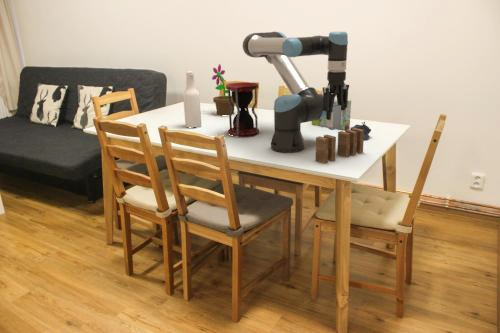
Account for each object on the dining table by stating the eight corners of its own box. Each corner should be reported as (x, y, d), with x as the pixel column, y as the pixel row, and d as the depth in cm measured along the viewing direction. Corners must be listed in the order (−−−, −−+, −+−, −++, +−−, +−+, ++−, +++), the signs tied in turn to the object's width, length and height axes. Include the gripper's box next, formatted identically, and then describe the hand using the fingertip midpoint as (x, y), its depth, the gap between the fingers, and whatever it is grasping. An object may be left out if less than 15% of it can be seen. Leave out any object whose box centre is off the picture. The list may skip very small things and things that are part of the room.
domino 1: (324, 163, 177) (324, 139, 174) (315, 160, 181) (316, 137, 178) (327, 162, 178) (328, 138, 175) (319, 159, 182) (319, 136, 179)
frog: (375, 138, 211) (376, 122, 209) (358, 142, 205) (359, 126, 202) (360, 134, 219) (361, 118, 216) (343, 138, 213) (343, 122, 210)
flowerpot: (223, 111, 282) (221, 63, 272) (241, 113, 274) (240, 63, 264) (209, 115, 271) (206, 65, 261) (227, 117, 263) (224, 66, 253)
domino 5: (352, 155, 186) (354, 132, 183) (344, 152, 190) (345, 130, 187) (356, 154, 187) (357, 131, 184) (347, 151, 191) (348, 129, 188)
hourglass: (222, 136, 223) (220, 86, 214) (235, 128, 237) (233, 81, 229) (252, 138, 217) (251, 87, 209) (263, 130, 231) (262, 82, 223)
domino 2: (340, 128, 190) (341, 105, 187) (331, 130, 188) (332, 106, 184) (336, 127, 192) (337, 104, 189) (328, 129, 189) (329, 106, 186)
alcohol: (188, 124, 249) (184, 70, 239) (203, 124, 247) (200, 70, 237) (183, 128, 241) (178, 72, 231) (198, 128, 239) (194, 72, 229)
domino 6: (359, 153, 189) (360, 130, 185) (350, 150, 193) (351, 128, 189) (362, 152, 190) (364, 130, 186) (354, 150, 194) (355, 127, 190)
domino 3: (331, 161, 180) (332, 137, 176) (322, 158, 183) (323, 135, 180) (335, 160, 181) (335, 136, 177) (326, 157, 185) (327, 134, 181)
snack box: (350, 128, 230) (351, 99, 225) (344, 130, 226) (345, 101, 221) (316, 122, 244) (317, 95, 239) (310, 124, 240) (311, 97, 235)
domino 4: (346, 157, 184) (347, 134, 181) (337, 154, 188) (338, 131, 185) (349, 156, 185) (350, 133, 182) (340, 153, 189) (341, 131, 186)
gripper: (327, 73, 174) (325, 131, 182) (358, 69, 184) (355, 124, 191) (314, 72, 180) (312, 127, 188) (345, 68, 189) (342, 121, 197)
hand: (334, 125), depth 189 cm, fingers closed on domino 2, 5 cm apart
